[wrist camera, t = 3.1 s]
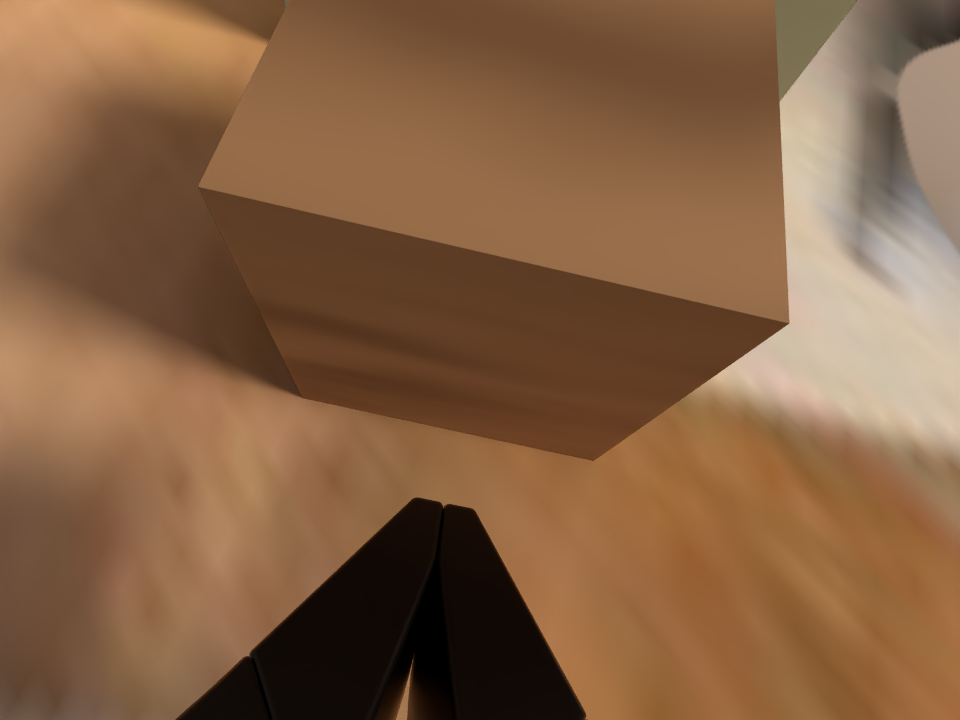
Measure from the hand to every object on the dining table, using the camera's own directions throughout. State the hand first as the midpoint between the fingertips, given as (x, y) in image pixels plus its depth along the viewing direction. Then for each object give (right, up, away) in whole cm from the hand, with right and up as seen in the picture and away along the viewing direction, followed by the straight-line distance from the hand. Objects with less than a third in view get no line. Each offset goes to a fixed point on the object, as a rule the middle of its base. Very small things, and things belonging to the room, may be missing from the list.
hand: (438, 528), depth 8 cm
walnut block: (0, +4, +9) cm, 10 cm away
